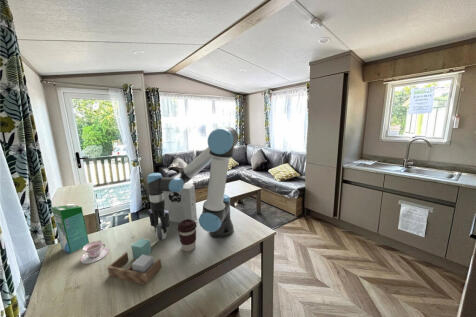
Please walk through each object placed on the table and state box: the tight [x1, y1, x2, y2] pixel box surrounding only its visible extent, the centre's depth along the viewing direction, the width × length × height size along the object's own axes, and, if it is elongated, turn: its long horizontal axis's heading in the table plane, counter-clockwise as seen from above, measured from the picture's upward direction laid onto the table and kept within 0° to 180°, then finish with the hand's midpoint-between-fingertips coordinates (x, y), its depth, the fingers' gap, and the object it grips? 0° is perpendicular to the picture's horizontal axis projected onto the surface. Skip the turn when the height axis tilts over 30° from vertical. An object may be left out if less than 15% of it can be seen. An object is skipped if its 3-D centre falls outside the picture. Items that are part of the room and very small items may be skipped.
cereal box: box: [163, 183, 198, 223], centre depth 130 cm, size 22×8×25 cm, turn 77°
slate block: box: [131, 255, 155, 273], centre depth 85 cm, size 6×6×7 cm
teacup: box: [80, 240, 110, 265], centre depth 98 cm, size 12×12×6 cm
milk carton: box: [51, 203, 90, 254], centre depth 104 cm, size 9×9×25 cm
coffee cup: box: [177, 219, 198, 252], centre depth 102 cm, size 10×10×15 cm
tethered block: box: [131, 222, 164, 260], centre depth 103 cm, size 6×19×9 cm, turn 163°
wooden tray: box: [107, 251, 162, 285], centre depth 87 cm, size 20×10×4 cm, turn 75°
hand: (161, 237), depth 112 cm, fingers closed on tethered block, 3 cm apart
